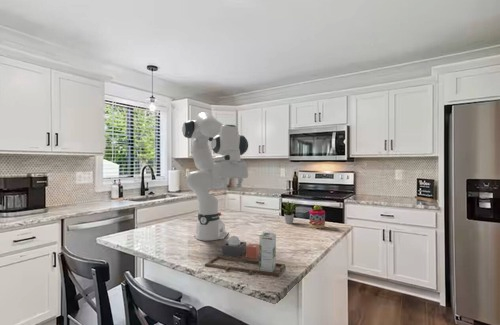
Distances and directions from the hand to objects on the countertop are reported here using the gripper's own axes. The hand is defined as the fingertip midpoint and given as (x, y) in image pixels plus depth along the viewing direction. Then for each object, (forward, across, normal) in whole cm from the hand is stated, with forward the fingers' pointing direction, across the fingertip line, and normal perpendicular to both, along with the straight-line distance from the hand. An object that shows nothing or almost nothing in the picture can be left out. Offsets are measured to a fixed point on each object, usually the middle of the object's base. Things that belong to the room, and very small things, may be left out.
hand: (232, 187), depth 130 cm
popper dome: (+28, -6, -7) cm, 29 cm away
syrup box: (+35, 0, +17) cm, 39 cm away
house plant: (+26, -78, -20) cm, 84 cm away
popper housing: (+31, -6, -7) cm, 32 cm away
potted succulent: (+28, -81, +1) cm, 86 cm away
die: (+32, -9, +3) cm, 33 cm away
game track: (+33, +3, +8) cm, 34 cm away
